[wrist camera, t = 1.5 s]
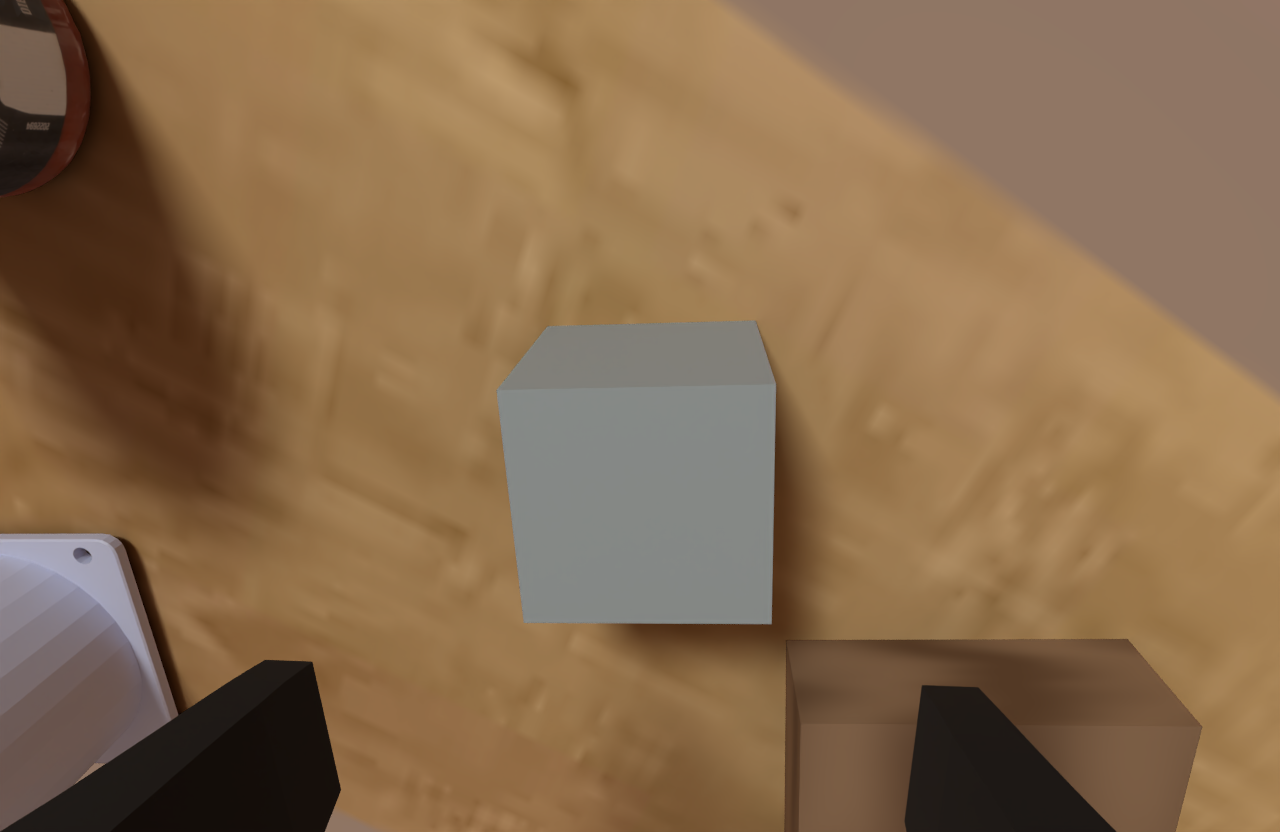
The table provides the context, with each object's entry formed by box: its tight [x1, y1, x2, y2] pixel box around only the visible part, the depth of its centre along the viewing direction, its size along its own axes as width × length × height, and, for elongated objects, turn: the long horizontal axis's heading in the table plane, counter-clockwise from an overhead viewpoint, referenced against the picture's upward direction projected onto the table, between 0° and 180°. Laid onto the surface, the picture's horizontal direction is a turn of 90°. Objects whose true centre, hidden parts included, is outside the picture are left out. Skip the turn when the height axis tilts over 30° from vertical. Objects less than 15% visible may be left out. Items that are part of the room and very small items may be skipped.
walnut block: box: [784, 639, 1202, 832], centre depth 21 cm, size 9×9×4 cm
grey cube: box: [497, 321, 776, 624], centre depth 16 cm, size 5×5×5 cm
